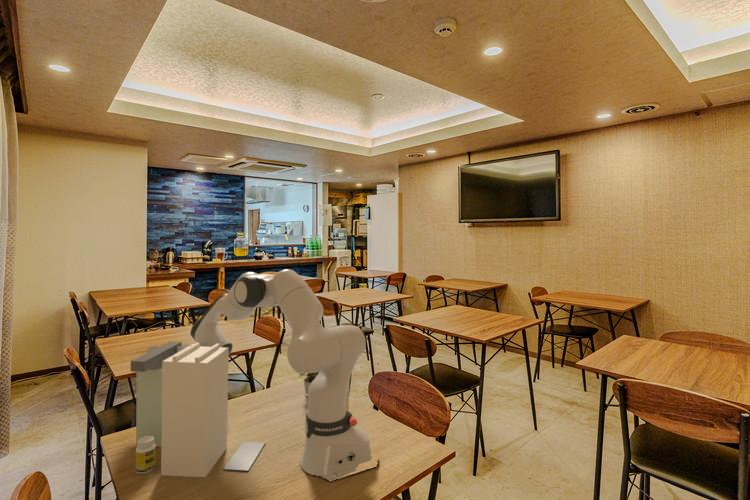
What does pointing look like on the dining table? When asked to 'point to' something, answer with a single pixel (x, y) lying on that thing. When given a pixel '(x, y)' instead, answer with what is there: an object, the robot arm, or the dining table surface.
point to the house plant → (309, 380)
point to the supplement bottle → (145, 455)
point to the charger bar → (154, 357)
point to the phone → (244, 456)
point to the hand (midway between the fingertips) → (168, 348)
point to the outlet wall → (194, 410)
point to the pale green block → (149, 404)
